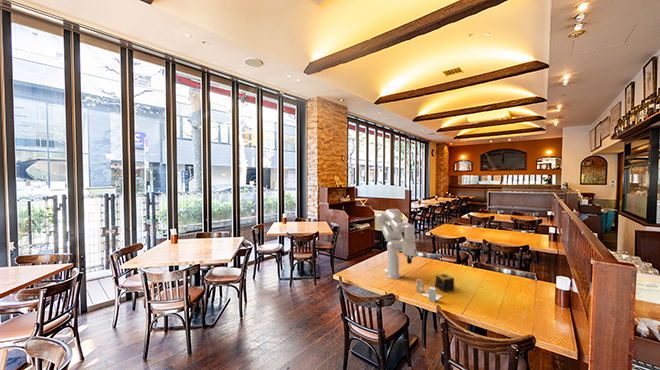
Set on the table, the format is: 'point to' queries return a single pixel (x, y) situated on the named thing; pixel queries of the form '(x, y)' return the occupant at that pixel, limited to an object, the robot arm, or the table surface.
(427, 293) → the mat
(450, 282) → the candle
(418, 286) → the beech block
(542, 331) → the table surface
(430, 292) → the bluegrey block
